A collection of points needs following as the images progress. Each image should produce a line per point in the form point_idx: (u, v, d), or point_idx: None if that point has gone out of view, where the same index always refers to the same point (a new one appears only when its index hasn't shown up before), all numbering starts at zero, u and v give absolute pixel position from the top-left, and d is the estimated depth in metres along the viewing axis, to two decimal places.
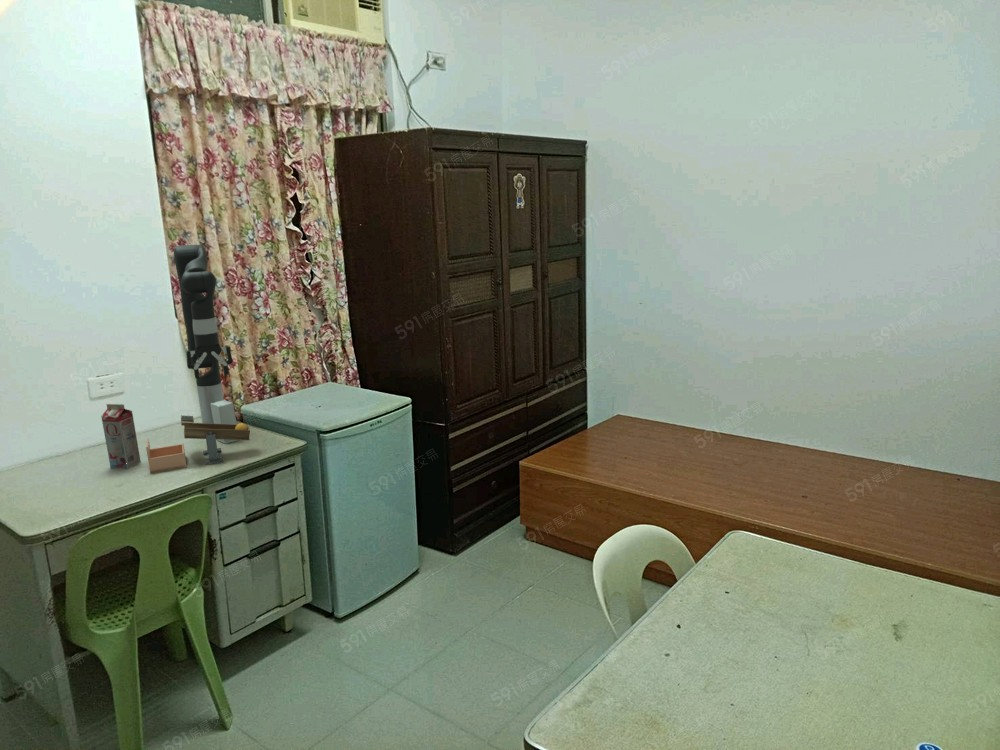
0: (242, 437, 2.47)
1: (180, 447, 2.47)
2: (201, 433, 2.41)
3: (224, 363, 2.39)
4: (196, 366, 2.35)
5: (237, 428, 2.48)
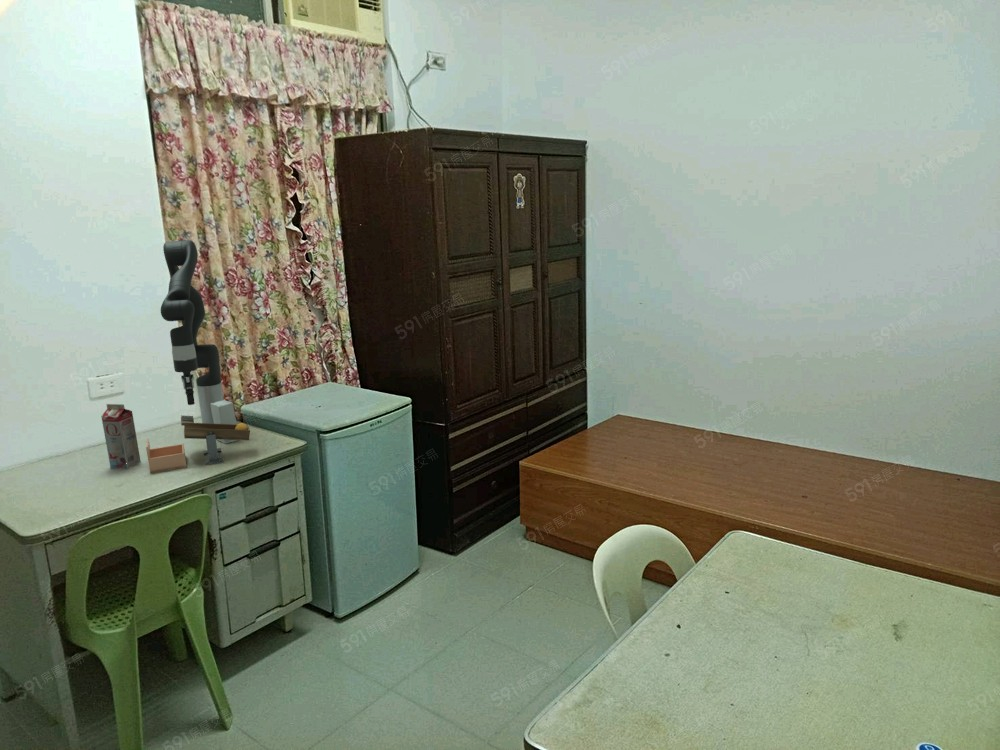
0: (242, 437, 2.47)
1: (180, 447, 2.47)
2: (201, 433, 2.41)
3: None
4: None
5: (237, 428, 2.48)
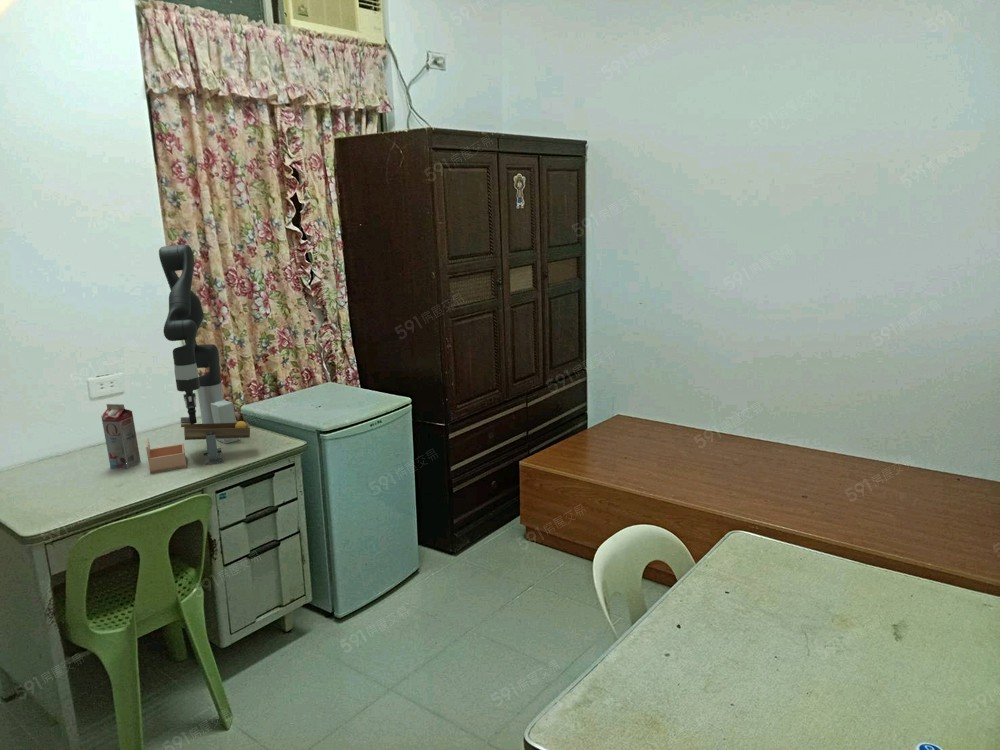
0: (242, 435, 2.47)
1: (180, 447, 2.47)
2: (201, 434, 2.41)
3: None
4: None
5: (236, 426, 2.48)
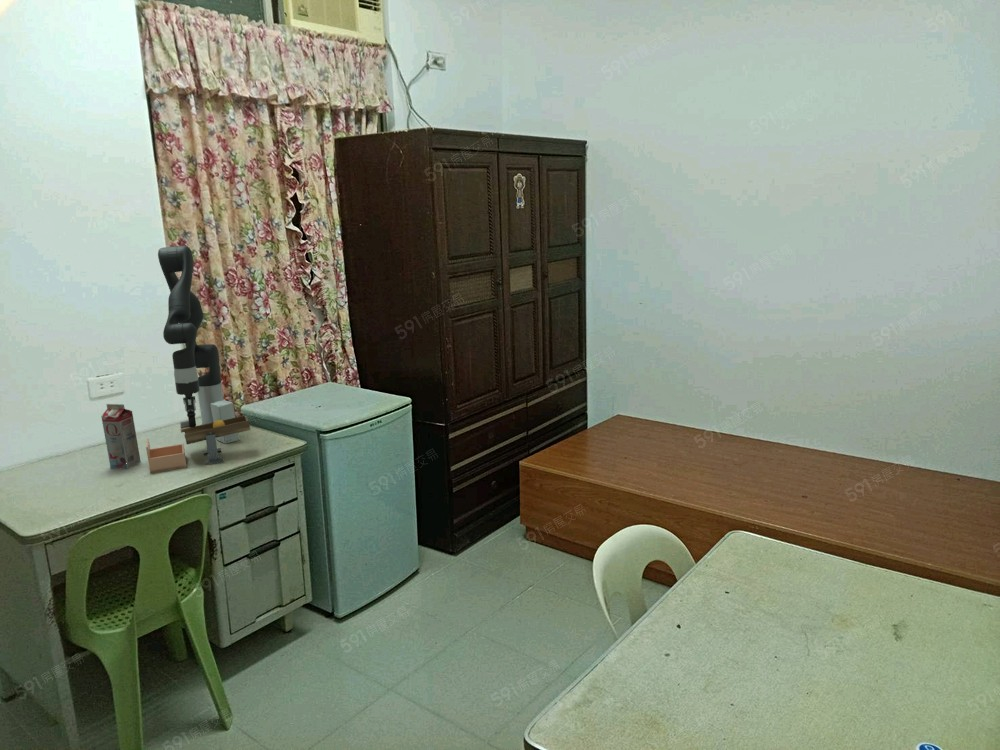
0: (242, 429, 2.46)
1: (180, 447, 2.47)
2: (201, 435, 2.41)
3: None
4: None
5: (223, 424, 2.46)
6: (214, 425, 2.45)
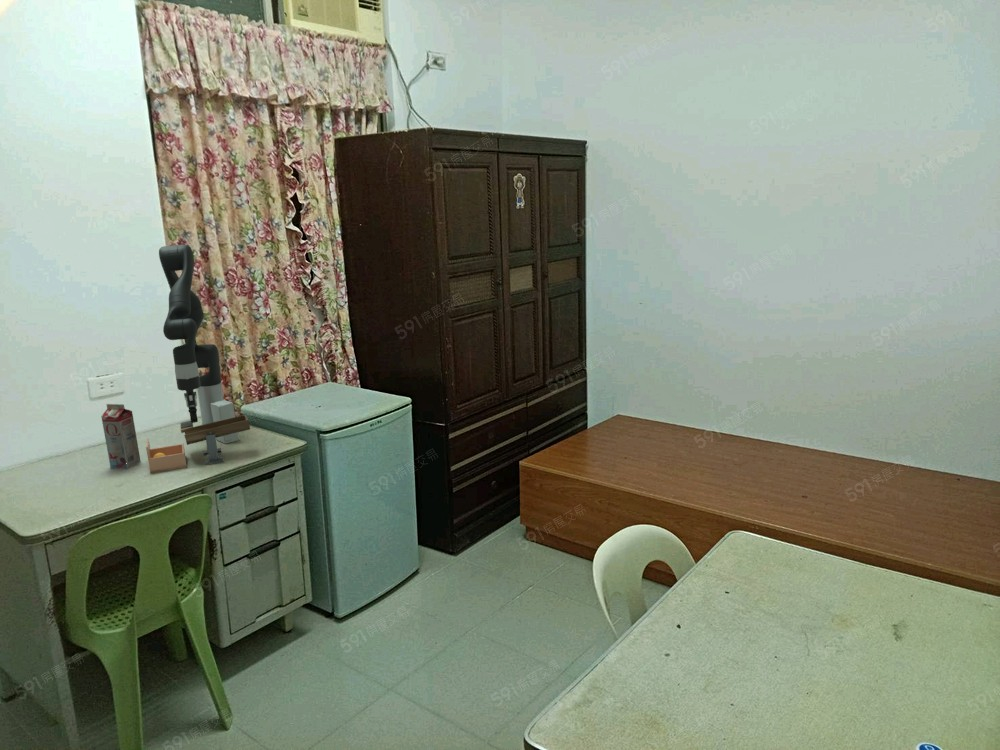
0: (242, 428, 2.46)
1: (180, 447, 2.47)
2: (201, 435, 2.41)
3: None
4: None
5: None
6: None
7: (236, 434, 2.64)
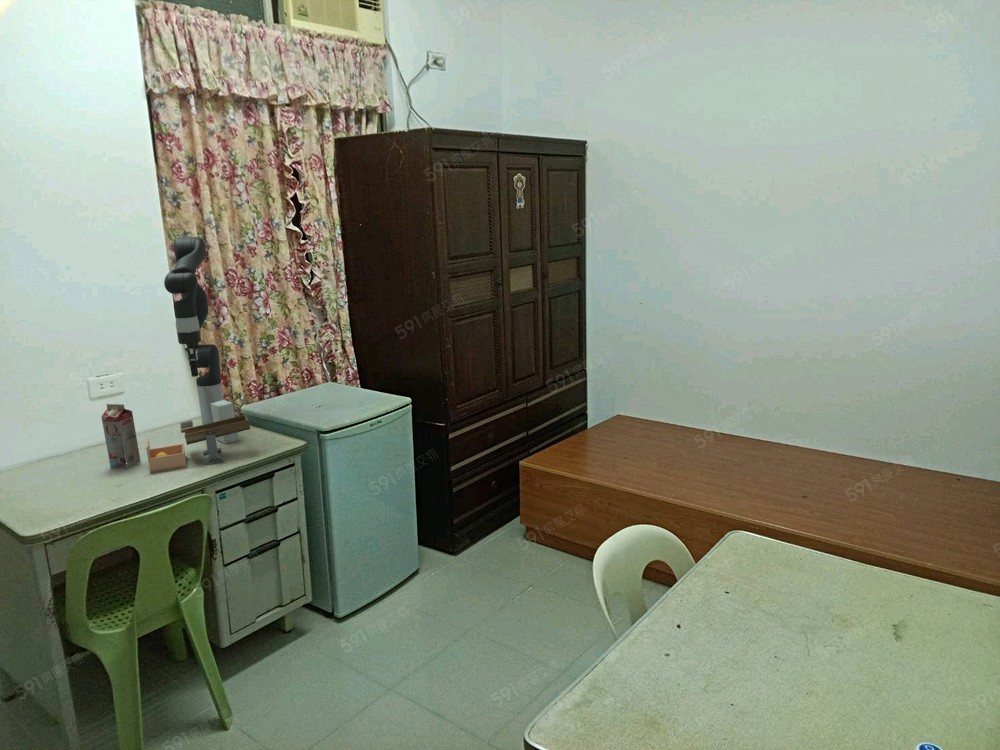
0: (242, 428, 2.46)
1: (180, 447, 2.47)
2: (201, 435, 2.41)
3: None
4: None
5: None
6: None
7: (236, 434, 2.64)
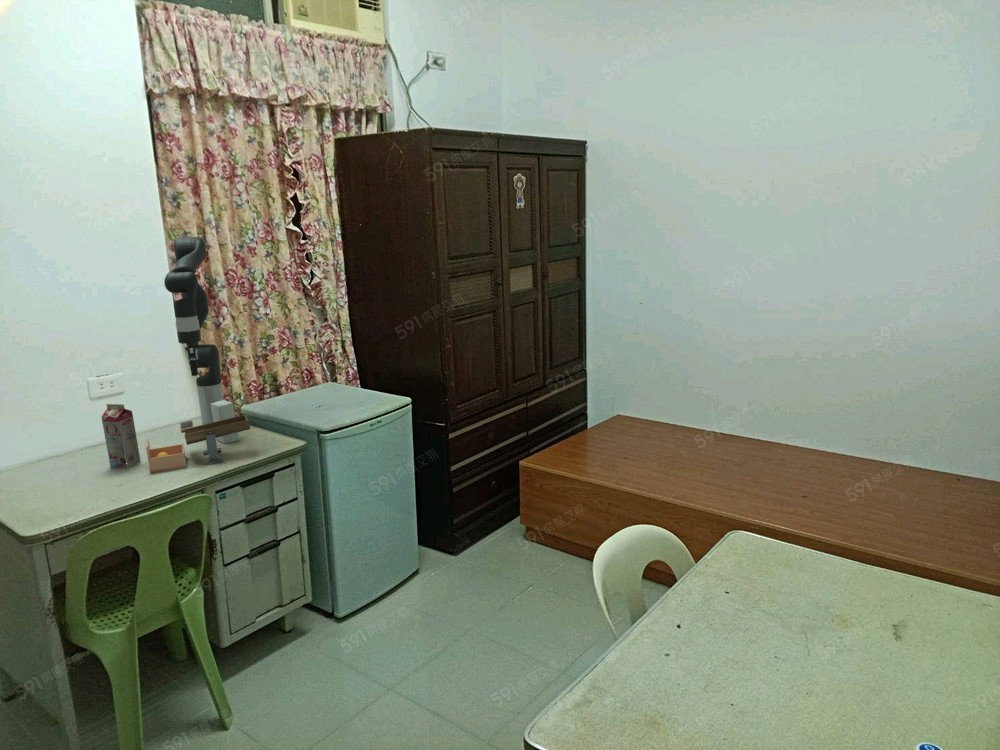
0: (242, 428, 2.46)
1: (180, 447, 2.47)
2: (201, 435, 2.41)
3: None
4: None
5: None
6: None
7: (236, 434, 2.64)
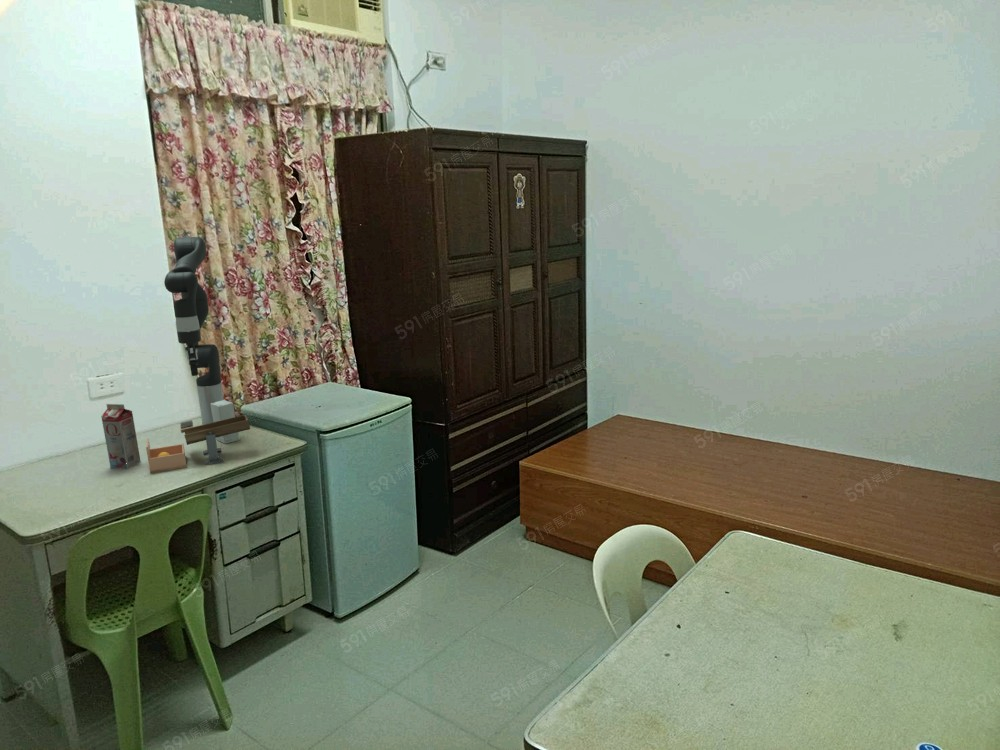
0: (242, 428, 2.46)
1: (180, 447, 2.47)
2: (201, 435, 2.41)
3: None
4: None
5: None
6: None
7: (236, 434, 2.64)
